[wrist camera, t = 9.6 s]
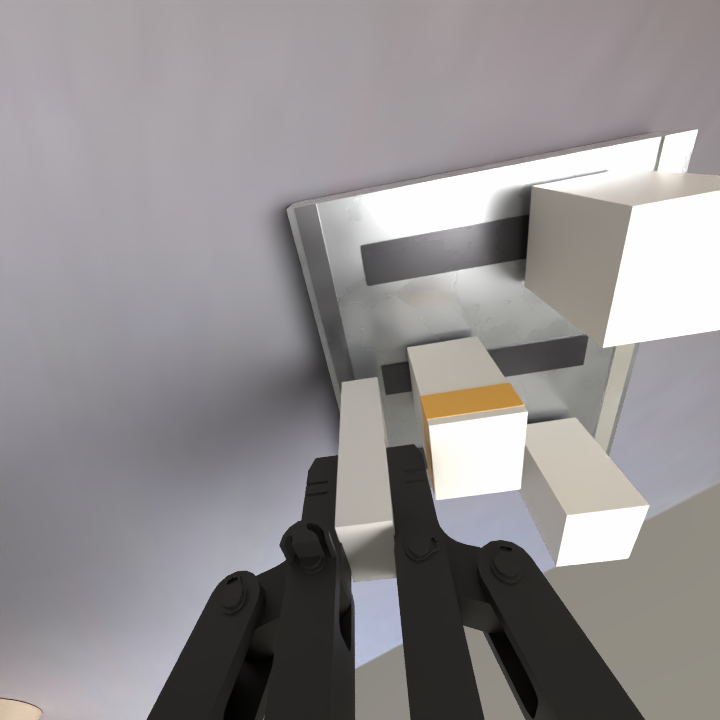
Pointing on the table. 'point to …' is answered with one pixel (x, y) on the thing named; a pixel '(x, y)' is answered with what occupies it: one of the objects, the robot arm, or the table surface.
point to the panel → (463, 283)
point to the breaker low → (578, 495)
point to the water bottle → (18, 711)
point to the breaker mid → (467, 419)
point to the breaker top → (628, 253)
